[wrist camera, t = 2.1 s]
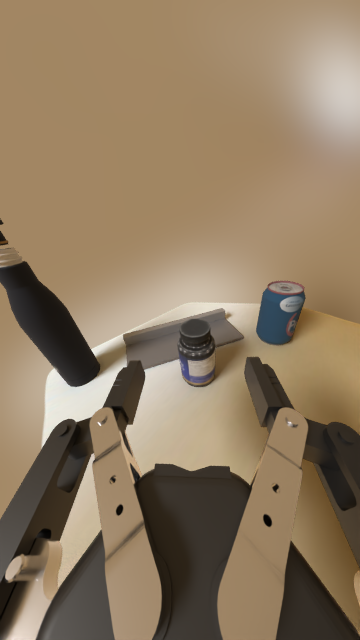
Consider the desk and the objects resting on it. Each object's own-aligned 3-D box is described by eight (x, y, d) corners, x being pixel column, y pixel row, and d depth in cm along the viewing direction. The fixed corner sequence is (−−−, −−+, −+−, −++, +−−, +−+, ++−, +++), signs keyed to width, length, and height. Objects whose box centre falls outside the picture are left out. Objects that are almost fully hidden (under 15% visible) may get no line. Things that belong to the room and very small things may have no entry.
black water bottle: (104, 360, 36) (12, 190, 20) (92, 385, 31) (-50, 182, 14) (77, 362, 37) (-36, 198, 20) (60, 388, 31) (-115, 192, 15)
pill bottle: (182, 362, 33) (175, 317, 27) (212, 360, 33) (211, 313, 27) (182, 389, 28) (173, 342, 22) (217, 387, 27) (219, 338, 21)
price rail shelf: (221, 317, 45) (221, 307, 43) (243, 338, 37) (244, 328, 35) (127, 343, 40) (123, 334, 38) (128, 374, 32) (123, 364, 30)
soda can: (292, 350, 32) (313, 296, 26) (254, 344, 35) (264, 293, 28) (288, 329, 37) (304, 280, 31) (255, 325, 40) (264, 279, 33)
